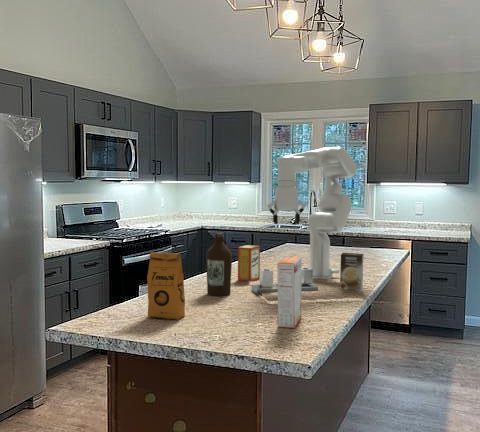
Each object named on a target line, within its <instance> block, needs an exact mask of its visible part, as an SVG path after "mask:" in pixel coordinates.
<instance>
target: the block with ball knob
mask: <svg viewBox="0 0 480 432" xmlns="http://www.w3.org/2000/svg"><path fill="white" fill-rule="evenodd" d="M313 280H314V279H313V269H310V267H301V283H312V284H313ZM313 285H314V284H313Z"/></svg>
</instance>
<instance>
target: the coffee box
mask: <svg viewBox="0 0 480 432" xmlns="http://www.w3.org/2000/svg"><path fill="white" fill-rule="evenodd" d="M339 274H340V277H339V290H341V291H342V290H343V291H344V290H346V291H355V292H357V293H359V294H362V293H363V284H364V283H363V280H364V253H357V252H354V253H353V252H342V253H341V254H340V269H339Z"/></svg>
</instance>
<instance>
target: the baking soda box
mask: <svg viewBox="0 0 480 432" xmlns="http://www.w3.org/2000/svg"><path fill="white" fill-rule="evenodd" d="M260 249H261V246H260V245H251V244H247V245H242V246H239V247H237V281H238V282H239V281H240V282H254V281H257V280H260V268H261V266H260V265H261V264H260V263H261V250H260Z"/></svg>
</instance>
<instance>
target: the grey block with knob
mask: <svg viewBox="0 0 480 432" xmlns="http://www.w3.org/2000/svg"><path fill="white" fill-rule="evenodd" d="M259 284H260V288H273V284H274V270H272V269H271V268H261V269H260V279H259Z"/></svg>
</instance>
